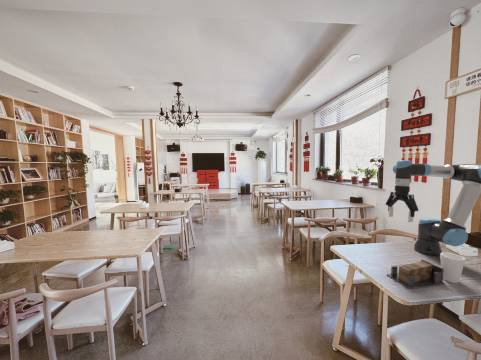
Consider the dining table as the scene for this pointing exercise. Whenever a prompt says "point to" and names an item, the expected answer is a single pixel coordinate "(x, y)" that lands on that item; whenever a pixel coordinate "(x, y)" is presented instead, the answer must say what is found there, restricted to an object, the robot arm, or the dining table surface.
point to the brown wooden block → (415, 271)
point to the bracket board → (434, 280)
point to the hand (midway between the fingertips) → (400, 219)
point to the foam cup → (452, 266)
